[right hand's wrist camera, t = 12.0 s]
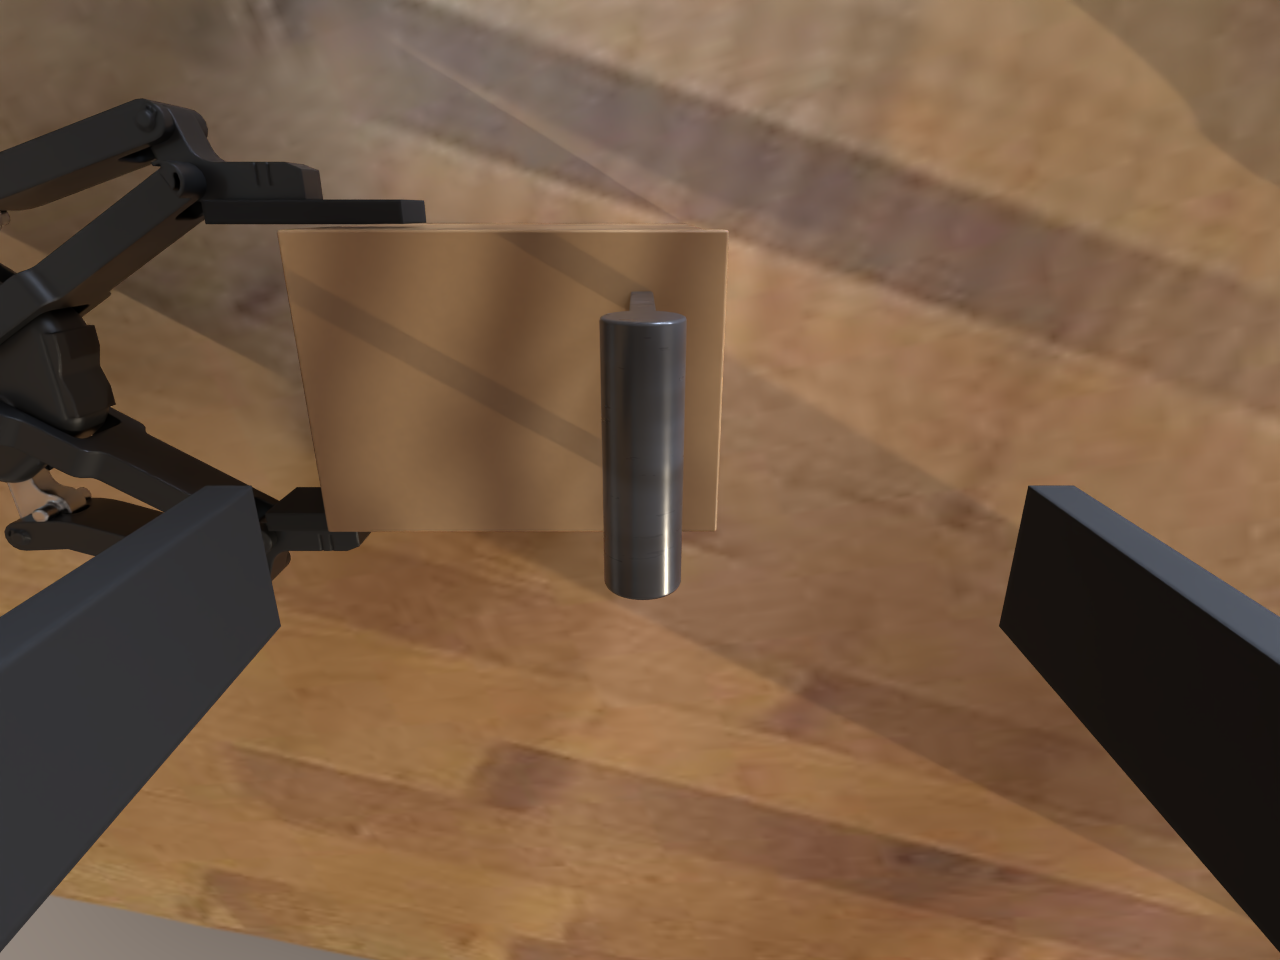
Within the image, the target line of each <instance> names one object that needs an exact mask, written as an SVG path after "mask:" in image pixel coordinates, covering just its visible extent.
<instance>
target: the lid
mask: <svg viewBox="0 0 1280 960" xmlns="http://www.w3.org/2000/svg"><path fill="white" fill-rule="evenodd" d="M277 235H278V241H279V247H280V253H281V259H282V264H283V270H284V276H285V282H286V288H287V293H288V299H289V305H290V311H291V317H292V323H293V328H294V334H295V340H296V346H297V352H298V357H299V363H300V369H301V375H302V381H303V387H304V392H305V398H306V404H307V410H308V416H309V422H310V427H311V433H312V439H313V445H314V451H315V456H316V462H317V468H318V474H319V480H320V486H321V491H322V497H323V503H324V509H325V515H326V520H327V526H328V531H330V532H592V531H604V578H605V584H606V586H607V587H608V589H609V590H610V591H612V592H613V593H615V594H616V595H619V596H621V597H624V598H628V599H635V600H650V599H657V598H661V597H664V596H667V595H669V594H671V593H673V592H674V591H675V590H676V589H677V588H678V586H679V585H680V582H681V549H682V531H716V529H717V505H718V482H719V458H720V434H721V410H722V386H723V363H724V339H725V315H726V291H727V267H728V244H729V232H728V231H727V230H724V229H287V230H279V231H277Z"/></svg>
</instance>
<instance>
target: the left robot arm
mask: <svg viewBox="0 0 1280 960" xmlns="http://www.w3.org/2000/svg"><path fill="white" fill-rule="evenodd" d="M207 135H208V128H207V125H206V122H205V120H204V119H203V117H202V116H201V115H200V114H199V113H197V112H196V111H194V110H191V109H188V108H183V107H179V106H174V105H169V104H165V103H160V102H156V101H151V100H147V99H135V100H132V101H130V102H127V103H125V104H122V105H120V106H117V107H114V108H112V109H109V110H107V111H104V112H102V113H99V114H97V115H94V116H91V117H89V118H86V119H84V120H81V121H79V122H76V123H74V124H71V125H68V126H66V127H63V128H61V129H58V130H56V131H53V132H50V133H48V134H45V135H43V136H40V137H38V138H35V139H33V140H30V141H27V142H25V143H22V144H20V145H17V146H15V147H12V148H10V149H7V150H4V151H2V152H0V230H1V228H2V225H7V224H9V222H10V216H9V214H8V212H7V211H19V210H26V209H32V208H35V207H38V206H42V205H45V204H47V203H50V202H53V201H55V200H58V199H60V198H63V197H66V196H68V195H71V194H74V193H76V192H79V191H82V190H84V189H87V188H90V187H92V186H95V185H97V184H100V183H103V182H105V181H108V180H111V179H113V178H116V177H119V176H121V175H124V174H127V173H129V172H132V171H134V170H137V169H140V168H142V167H145V166H148V165H150V164H152V165H153V166H160V167H161V168H160V169H158V170H157V171H156V172H155V173H153V174H152V175H151V176H150V177H148V178H147V179H146V180H144V181H143V182H142V183H141V184H139V185H138V186H137V187H135V188H134V189H133V190H132V191H130V192H129V193H128V194H126V195H125V196H124V197H123V198H121V199H120V200H119V201H118V202H116V203H115V204H114V205H112V206H111V207H110V208H109V209H107V210H106V211H105V212H103V213H102V214H101V215H100V216H98V217H97V218H96V219H95V220H93V221H92V222H91V223H89V224H88V225H87V226H86V227H84V228H83V229H82V230H80V231H79V232H78V233H77V234H75V235H74V236H73V237H72V238H70V239H69V240H68V241H66V242H65V243H64V244H63V245H61V246H60V247H59V248H57V249H56V250H55V251H54V252H52V253H51V254H50V255H49V256H47V257H46V258H45V259H43V260H42V261H41V262H40V263H38V264H37V265H36V266H34V267H32V268H30V269H28V270H25V271H22V272H19V273H16V272H14V271H13V270H11V269H9V268H8V267H6V266H4V265H3V264H1V263H0V481H1V482H7V483H8V486H9V489H10V491H11V494H12V496H13V499H14V502H15V504H16V507H17V509H18V512H19V515H20V517H21V519H19V520H17V521H15V522H13V523H11V524H9V525H8V526H7V527H6V529H5V537H6V539H7V540H8V542H9V543H10V544H11V545H12V546H13V547H15V548H17V549H19V550H26V551H28V550H56V549H70V550H74V551H78V552H81V553H85V554H89V555H93V556H97V555H98V554H100V553H101V552H103V551H105V550H106V549H108V548H109V547H111V546H112V545H114V544H116V543H117V542H119V541H120V540H122V539H123V538H125V537H127V536H128V535H130V534H131V533H133V532H134V531H136V530H137V529H139V528H141V527H142V526H144V525H145V524H147V523H148V522H150V521H152V520H153V519H155V518H156V517H158V516H159V515H161V514H163V513H164V512H166V511H167V510H169V509H170V508H172V507H174V506H175V505H177V504H178V503H180V502H181V501H183V500H184V499H186V498H188V497H189V496H191V495H192V494H194V493H195V492H197V491H199V490H200V489H202V488H203V487H205V486H249V485H247V484H245V483H243V482H241V481H239V480H237V479H235V478H233V477H231V476H229V475H227V474H225V473H223V472H221V471H219V470H217V469H215V468H214V467H212V466H210V465H208V464H206V463H204V462H202V461H200V460H198V459H196V458H194V457H192V456H190V455H188V454H186V453H184V452H182V451H180V450H178V449H176V448H174V447H172V446H170V445H168V444H166V443H164V442H162V441H161V440H159V439H157V438H155V437H153V436H151V435H149V434H147V433H146V431H145V426H144V425H143V424H142V423H140V422H138V421H136V420H134V419H132V418H130V417H128V416H127V415H125V414H123V413H121V412H119V411H117V410H115V409H113V408H111V407H110V406H113V405H116V404H115V400H114V396H113V393H112V389H111V385H110V384H109V382H108V380H107V378H106V376H105V374H104V373H103V371H102V369H101V367H100V345H99V341H98V337H97V333H96V330H95V326H94V325H86V323H85V321H84V320H83V319H82V316H84V315H85V314H86V313H88V312H89V311H90V310H92V309H93V308H94V307H96V306H97V305H98V304H100V303H101V302H102V301H104V300H105V299H106V298H108V297H109V296H110V295H111V293H110V290H111V289H113V288H114V287H115V286H117V285H118V284H119V283H121V282H122V281H123V280H125V279H126V278H127V277H129V276H130V275H131V274H132V273H134V272H135V271H136V270H138V269H139V268H140V267H142V266H143V265H144V264H146V263H147V262H148V261H150V260H151V259H152V258H154V257H155V256H156V255H158V254H159V253H160V252H162V251H163V250H164V249H166V248H167V247H168V246H170V245H171V244H172V243H174V242H175V241H176V240H178V239H179V238H180V237H182V236H183V235H184V234H186V233H187V232H188V231H190V230H191V229H192V228H194V227H195V226H196V225H198V224H199V223H200V222H202V221H203V220H204V219H205V223H206V224H413V223H426V215H425V205H424V201H423V200H323V195H322V188H321V182H320V175H319V171H318V170H316V169H313V168H311V167H308V166H306V165H304V164H296V163H289V162H225V161H224V160H222V159H221V158H219V157H218V155H217V154H216V153H215V152H214V151H213V149H212V147H211V145H210V144H209V142H208V140H207ZM91 435H92V436H91ZM53 468H56V469H58V470H60V471H62V472H64V473H66V474H68V475H71V476H73V477H78V478H95V479H97V480H100V481H102V482H104V483H106V484H108V485H110V486H112V487H114V488H116V489H118V490H120V491H122V492H124V493H126V494H128V495H130V496H132V497H134V498H136V499H138V500H141V501H143V502H145V503H147V504H149V505H151V506H153V507H155V508H157V509H159V510H161V511H163V512H160V511H156V510H153V509H149V508H145V507H142V506H138V505H134V504H131V503H127V502H123V501H118V500H114V499H106V498H91V493H90V491H89V490H88V489H87V488H84V487H80V488H78V489H75V488H72V487H68V486H63V485H61V484H59V483H58V482H56V481H55V480H54V479H53V478H52V476H51V474H50V472H49V471H50V470H51V469H53ZM252 490H253V495H254V500H255V505H256V509H257V514H258V519H259V524H260V529H261V533H262V538H263V543H264V548H265V553H266V557H267V562H268V567H269V572H270V577H271V581H272V580H273V579H274V578H275V577H276V576H277V575H278V574H279V573H280V572H281V571H282V570H283V569H284V568H285V567H286V566H287V565H288V564H289V562H290V560H291V558H290V553H289V551H322V550H324V551H332V550H334V551H348V550H351V549H353V548H356V547H359V546H360V545H361V544H362V542H363V541H364V540H365V539H366V538H367V536H368V535H369V534H370V533H371V532H330V531H328V526H327V520H326V515H325V509H324V503H323V497H322V491H321V487H296V488H295V489H294V490H293V491H292V492H290V493H289V494H288V495H287V496H285V497H284V498H283V499H282V500H280V501H278V500H276V499H274V498H272V497H270V496H269V495H267V494H265V493H263V492H261V491H259V490H257V489H255V488H253V487H252Z"/></svg>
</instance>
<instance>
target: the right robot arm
mask: <svg viewBox="0 0 1280 960" xmlns="http://www.w3.org/2000/svg"><path fill="white" fill-rule="evenodd" d="M280 627H281V624H280V620H279V615H278V610H277V605H276V600H275V596H274V591H273V586H272V581H271V577H270V572H269V567H268V562H267V557H266V553H265V548H264V543H263V538H262V533H261V529H260V524H259V519H258V514H257V509H256V505H255V500H254V495H253V490H252V486H205V487H203V488H202V489H200V490H199V491H197V492H195V493H194V494H192V495H191V496H189V497H188V498H186V499H184V500H183V501H181V502H180V503H178V504H177V505H175V506H174V507H172V508H170V509H169V510H167V511H166V512H164V513H163V514H161V515H159V516H158V517H156V518H155V519H153V520H152V521H150V522H148V523H147V524H145V525H144V526H142V527H141V528H139V529H137V530H136V531H134V532H133V533H131V534H130V535H128V536H127V537H125V538H123V539H122V540H120V541H119V542H117V543H116V544H114V545H112V546H111V547H109V548H108V549H106V550H105V551H103V552H101V553H100V554H98V555H97V556H95V557H94V558H92V559H90V560H89V561H87V562H86V563H84V564H83V565H81V566H80V567H78V568H76V569H75V570H73V571H72V572H70V573H69V574H67V575H65V576H64V577H62V578H61V579H59V580H58V581H56V582H54V583H53V584H51V585H50V586H48V587H47V588H45V589H43V590H42V591H40V592H39V593H37V594H36V595H34V596H33V597H31V598H29V599H28V600H26V601H25V602H23V603H22V604H20V605H18V606H17V607H15V608H14V609H12V610H11V611H9V612H7V613H6V614H4V615H3V616H1V617H0V952H1V951H2V950H3V949H4V947H5V946H6V945H7V944H8V943H9V942H10V940H11V939H12V938H13V937H14V936H15V935H16V933H17V932H18V931H19V930H20V929H21V928H22V927H23V925H24V924H25V923H26V922H27V921H28V920H29V918H30V917H31V916H32V915H33V914H34V913H35V911H36V910H37V909H38V908H39V907H40V906H41V904H42V903H43V902H44V901H45V900H46V899H47V897H48V896H49V895H50V894H51V893H52V892H53V890H54V889H55V888H56V887H57V886H58V885H59V884H60V882H61V881H62V880H63V879H64V878H65V877H66V875H67V874H68V873H69V872H70V871H71V870H72V868H73V867H74V866H75V865H76V864H77V863H78V861H79V860H80V859H81V858H82V857H83V856H84V854H85V853H86V852H87V851H88V850H89V849H90V847H91V846H92V845H93V844H94V843H95V842H96V840H97V839H98V838H99V837H100V836H101V835H102V834H103V832H104V831H105V830H106V829H107V828H108V827H109V825H110V824H111V823H112V822H113V821H114V820H115V818H116V817H117V816H118V815H119V814H120V813H121V811H122V810H123V809H124V808H125V807H126V806H127V804H128V803H129V802H130V801H131V800H132V799H133V797H134V796H135V795H136V794H137V793H138V792H139V791H140V789H141V788H142V787H143V786H144V785H145V784H146V782H147V781H148V780H149V779H150V778H151V777H152V775H153V774H154V773H155V772H156V771H157V770H158V768H159V767H160V766H161V765H162V764H163V763H164V761H165V760H166V759H167V758H168V757H169V756H170V754H171V753H172V752H173V751H174V750H175V749H176V748H177V746H178V745H179V744H180V743H181V742H182V741H183V739H184V738H185V737H186V736H187V735H188V734H189V732H190V731H191V730H192V729H193V728H194V727H195V725H196V724H197V723H198V722H199V721H200V720H201V718H202V717H203V716H204V715H205V714H206V713H207V711H208V710H209V709H210V708H211V707H212V706H213V705H214V703H215V702H216V701H217V700H218V699H219V698H220V696H221V695H222V694H223V693H224V692H225V691H226V689H227V688H228V687H229V686H230V685H231V684H232V682H233V681H234V680H235V679H236V678H237V677H238V675H239V674H240V673H241V672H242V671H243V670H244V668H245V667H246V666H247V665H248V664H249V663H250V661H251V660H252V659H253V658H254V657H255V656H256V655H257V653H258V652H259V651H260V650H261V649H262V648H263V646H264V645H265V644H266V643H267V642H268V641H269V639H270V638H271V637H272V636H273V635H274V634H275V632H276V631H277V630H278V629H279V628H280ZM999 627H1000V628H1001V629H1002V630H1003V631H1004V632H1005V634H1006V635H1007V636H1008V637H1009V638H1010V639H1011V641H1012V642H1013V643H1014V644H1015V645H1016V646H1017V648H1018V649H1019V650H1020V651H1021V652H1022V653H1023V655H1024V656H1025V657H1026V658H1027V659H1028V660H1029V661H1030V663H1031V664H1032V665H1033V666H1034V667H1035V668H1036V670H1037V671H1038V672H1039V673H1040V674H1041V675H1042V677H1043V678H1044V679H1045V680H1046V681H1047V682H1048V684H1049V685H1050V686H1051V687H1052V688H1053V689H1054V691H1055V692H1056V693H1057V694H1058V695H1059V696H1060V698H1061V699H1062V700H1063V701H1064V702H1065V703H1066V705H1067V706H1068V707H1069V708H1070V709H1071V710H1072V711H1073V713H1074V714H1075V715H1076V716H1077V717H1078V718H1079V720H1080V721H1081V722H1082V723H1083V724H1084V725H1085V727H1086V728H1087V729H1088V730H1089V731H1090V732H1091V734H1092V735H1093V736H1094V737H1095V738H1096V739H1097V741H1098V742H1099V743H1100V744H1101V745H1102V746H1103V748H1104V749H1105V750H1106V751H1107V752H1108V753H1109V754H1110V756H1111V757H1112V758H1113V759H1114V760H1115V761H1116V763H1117V764H1118V765H1119V766H1120V767H1121V768H1122V770H1123V771H1124V772H1125V773H1126V774H1127V775H1128V777H1129V778H1130V779H1131V780H1132V781H1133V782H1134V784H1135V785H1136V786H1137V787H1138V788H1139V789H1140V791H1141V792H1142V793H1143V794H1144V795H1145V796H1146V797H1147V799H1148V800H1149V801H1150V802H1151V803H1152V804H1153V806H1154V807H1155V808H1156V809H1157V810H1158V811H1159V813H1160V814H1161V815H1162V816H1163V817H1164V818H1165V820H1166V821H1167V822H1168V823H1169V824H1170V825H1171V827H1172V828H1173V829H1174V830H1175V831H1176V832H1177V834H1178V835H1179V836H1180V837H1181V838H1182V839H1183V840H1184V842H1185V843H1186V844H1187V845H1188V846H1189V847H1190V849H1191V850H1192V851H1193V852H1194V853H1195V854H1196V856H1197V857H1198V858H1199V859H1200V860H1201V861H1202V863H1203V864H1204V865H1205V866H1206V867H1207V868H1208V870H1209V871H1210V872H1211V873H1212V874H1213V875H1214V877H1215V878H1216V879H1217V880H1218V881H1219V882H1220V884H1221V885H1222V886H1223V887H1224V888H1225V889H1226V890H1227V892H1228V893H1229V894H1230V895H1231V896H1232V897H1233V899H1234V900H1235V901H1236V902H1237V903H1238V904H1239V906H1240V907H1241V908H1242V909H1243V910H1244V911H1245V913H1246V914H1247V915H1248V916H1249V917H1250V918H1251V920H1252V921H1253V922H1254V923H1255V924H1256V925H1257V927H1258V928H1259V929H1260V930H1261V931H1262V932H1263V933H1264V935H1265V936H1266V937H1267V938H1268V939H1269V940H1270V942H1271V943H1272V944H1273V945H1274V946H1275V947H1276V949H1277V950H1278V951H1279V952H1280V617H1279V616H1277V615H1276V614H1274V613H1273V612H1271V611H1269V610H1268V609H1266V608H1265V607H1263V606H1262V605H1260V604H1258V603H1257V602H1255V601H1254V600H1252V599H1251V598H1249V597H1247V596H1246V595H1244V594H1243V593H1241V592H1240V591H1238V590H1237V589H1235V588H1233V587H1232V586H1230V585H1229V584H1227V583H1226V582H1224V581H1222V580H1221V579H1219V578H1218V577H1216V576H1215V575H1213V574H1211V573H1210V572H1208V571H1207V570H1205V569H1204V568H1202V567H1200V566H1199V565H1197V564H1196V563H1194V562H1193V561H1191V560H1190V559H1188V558H1186V557H1185V556H1183V555H1182V554H1180V553H1179V552H1177V551H1175V550H1174V549H1172V548H1171V547H1169V546H1168V545H1166V544H1164V543H1163V542H1161V541H1160V540H1158V539H1157V538H1155V537H1153V536H1152V535H1150V534H1149V533H1147V532H1146V531H1144V530H1143V529H1141V528H1139V527H1138V526H1136V525H1135V524H1133V523H1132V522H1130V521H1128V520H1127V519H1125V518H1124V517H1122V516H1121V515H1119V514H1117V513H1116V512H1114V511H1113V510H1111V509H1110V508H1108V507H1106V506H1105V505H1103V504H1102V503H1100V502H1099V501H1097V500H1096V499H1094V498H1092V497H1091V496H1089V495H1088V494H1086V493H1085V492H1083V491H1081V490H1080V489H1078V488H1077V487H1075V486H1028V490H1027V495H1026V500H1025V505H1024V509H1023V514H1022V519H1021V524H1020V529H1019V533H1018V538H1017V543H1016V548H1015V553H1014V557H1013V562H1012V567H1011V572H1010V577H1009V581H1008V586H1007V591H1006V596H1005V600H1004V605H1003V610H1002V615H1001V620H1000V624H999Z"/></svg>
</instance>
